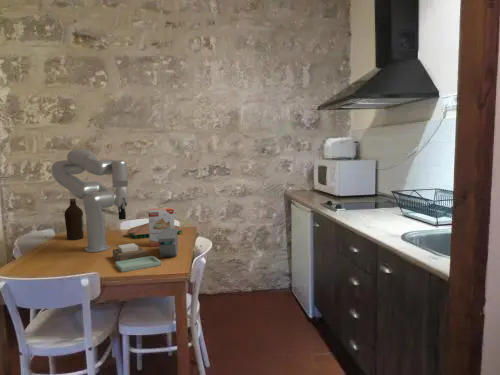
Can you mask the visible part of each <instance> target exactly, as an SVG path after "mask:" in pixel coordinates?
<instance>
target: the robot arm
mask: <svg viewBox="0 0 500 375" xmlns="http://www.w3.org/2000/svg"><path fill="white" fill-rule="evenodd" d="M66 159H67V160H63V159H62V160H57V161H55V162H54V163H53V164H52V165H51V167H50V170H51V174H52V177H53V178H54V180H55V182H57V183H58V184H59V185H61V186H62V187H64V188H65V189H66V190H68V191H69V192H70V193H71V194H72V195H74V196H75V197H76V198H77V199H79V200H82V204H83V208H84V212H85V219H86V221H85V222H86V234H87V235H86V236H87V246H86V247H85V248H84V251H85V252H87V253H97V252H98V253H99V252H103V251H104V252H105V251H107V250H109V249H110V245H109V244H107V232H106V231H107V230H106V219H105V218H106V216H105V214H104V213H103V211H102V209H107V208H111V207H112V206H115V207H117V211H118V220H120V221H122V220H126V218H127V216H126V207H127V206H128V191H127V188H128V186H129V182H128V167H127V166H128V165H127V161H126V160H125V159H123V160H119V159H118V160H115V159H107V160H106V159H104V160H103V159H102V160H97V159H98V158H97V156H96V155H95V154H94V152H93V151H92V150H90V149H86V148H85V149H73V150H72V149H71V150H70V151H69V152H68V153H67V155H66ZM85 171H86V172H87V173H89V174H92V175H95V176H106V175H111V177H112V178H111V179H112V180H111V181H112V188H113V192H112V191H111V190H110V189H108V188H107V187H106V186H105V185H103V183H100V182H99V181H83V180H82V179H80V178H79V177H78V176H75V175H80V174H82V173H83V172H85Z"/></svg>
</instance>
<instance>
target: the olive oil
mask: <svg viewBox="0 0 500 375" xmlns="http://www.w3.org/2000/svg"><path fill="white" fill-rule="evenodd" d="M63 217H64V222H65V230H66V231H65V233H66V239H67V240H68V241H77V240H82V239H83V238H84V212H83V210H82V208H80V207H79V206H78V205H77V201H76V198H69V206H68V207H67V208H66V209H65V211H64V215H63Z"/></svg>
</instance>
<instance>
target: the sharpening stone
mask: <svg viewBox="0 0 500 375" xmlns="http://www.w3.org/2000/svg"><path fill="white" fill-rule="evenodd" d="M178 233H179V231H178V228H171V229H163V230H162V232H161V235H160V237H159V239H158V240H159V242H160V244H159V246H158V251H159V255H160V257H161V258H170V257H171V258H173V257H178V256H177V255H178V250H179V249H178V248H179V247H178V246H179V243H178V242H179V236H178Z"/></svg>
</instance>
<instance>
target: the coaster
mask: <svg viewBox="0 0 500 375" xmlns="http://www.w3.org/2000/svg"><path fill="white" fill-rule="evenodd" d="M138 246H139V245H137V244H136V243H135V242H134V243H133V242H132V243H126V244H118V245H117V249H118V250H120V251H121V252H122V253H123V252H129V251H136V250H138Z"/></svg>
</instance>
